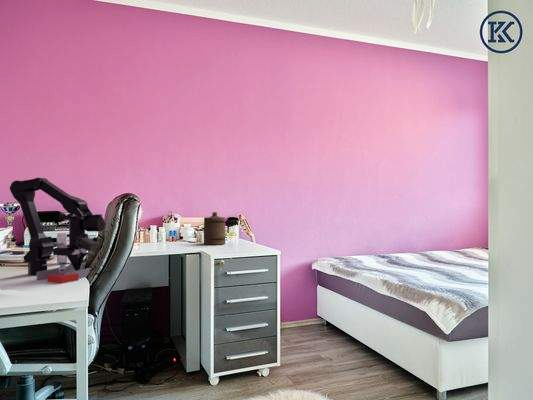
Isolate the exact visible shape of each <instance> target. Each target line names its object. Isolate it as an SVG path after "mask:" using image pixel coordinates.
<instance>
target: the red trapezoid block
mask: <svg viewBox="0 0 533 400" xmlns="http://www.w3.org/2000/svg"><path fill="white" fill-rule="evenodd" d="M66 266H67V265H65V264H61V265H60V266H59V267H58V268H59V272H60V273H57V274H51V275H47V278H46V281H47V282H48V283H55V284H67V283H73V282H76V281H79V279H80V278H78V274H76V273H74V274H69V275H65V276H64V275H62V273H67V272H66Z"/></svg>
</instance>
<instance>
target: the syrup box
mask: <svg viewBox="0 0 533 400" xmlns="http://www.w3.org/2000/svg"><path fill="white" fill-rule="evenodd" d="M67 234H69V231H60V232H57V233H56V248H57V247H67V245H69V237H67ZM56 262H57V263H58V264H70V263H71V262H70V260H69V259H68V257H67V256H61V255H56Z"/></svg>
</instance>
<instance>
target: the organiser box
mask: <svg viewBox="0 0 533 400" xmlns="http://www.w3.org/2000/svg"><path fill="white" fill-rule="evenodd" d="M85 265H86V261H85V262H82V264H81V267H80V270H77V271H75V269H74V267H73V266H72V264H70V265H65V266H66V272H67V273H62V275H64V276H65V275H69V274H74V273H76V274H78V278H79V279H83V278H87V275H88V273H89V271H90V269H91V268H86V269H85ZM57 273H60V272H59V267H56V268H55V267H54V268H49V269H47V270H44V271H38V272H37V275H36V281H42V280H47V275H51V274H57Z"/></svg>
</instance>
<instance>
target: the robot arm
mask: <svg viewBox="0 0 533 400" xmlns="http://www.w3.org/2000/svg"><path fill="white" fill-rule="evenodd" d="M9 190H10V193H11V194H12V195H11V196H12V197H13V198H14V199H15V201H17V203H19V206H20V209H21V212H22V215H23V217H24V220H25V225H26V228H27V230H28V233H29V237H30V238H29V239H30V240H29V241H28V242H29V243H28V250H29V251H27V253H26V254H25V255H24V256H23V261H24V263H28V264H27V268H28V269H27V271H28V272H27V274H28V275H29V276H37V272H38V271H44V270H48V264H47V263H48V262H47V261H48V260H50V259H51V256H57V255H61V256H67V257H68V259H69V260H70V262H71V264H70V265H72V266H73V267H74V269H75V271H77V270H80V267H81V264H82V263H83V261H84V258H85V257H86V256H88V255H89V254H90V252H92V251H93V252H96V251H97V247H98V246H99V247H100V246H101V238H100V237H96V236H95V237H93V238H89V234H88V233H89V232H96V233H97V232H100V233H101V232H103V231H104V230H105V228H106V222H105V219H104V218H103V215H102V213H101V214H97V213H95V214H94V213H93V212H92V211H91V209H90V208H89V206H88V203H87V201H86V200H84V199H82V198H79V197H77V196H74V195H70V194H69V193H67V192H66V191H64V190H63V189H61V188H60V187H59V186H57V185H55V184H54V183H52V182H51V181H49V180H48V179H47V178H45V177H35V178H32V179H27V180H14V181H12V182H11V184H10V186H9ZM37 191H42V192H44V193H45V194H47V195H48V196H49V197H51V198H53V199H54V200H55V201H57V202H58V203H60V205H61V206H62V208H63V210H65V211H66V212H67V213H68V214H67V215H66V216H65V217H63V220H64V221H68V225H69V226H68V232H69V234H67V237H69V245H67V247H57V246H56V247H55V243H54V241H53V237H52V236H47V235H46V234H45V233H44V228H43V226H42V222H41V220H40V217H39V214H38V211H37V207H36V204H35V196H36V192H37ZM86 232H87V233H86ZM97 252H98V251H97Z"/></svg>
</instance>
